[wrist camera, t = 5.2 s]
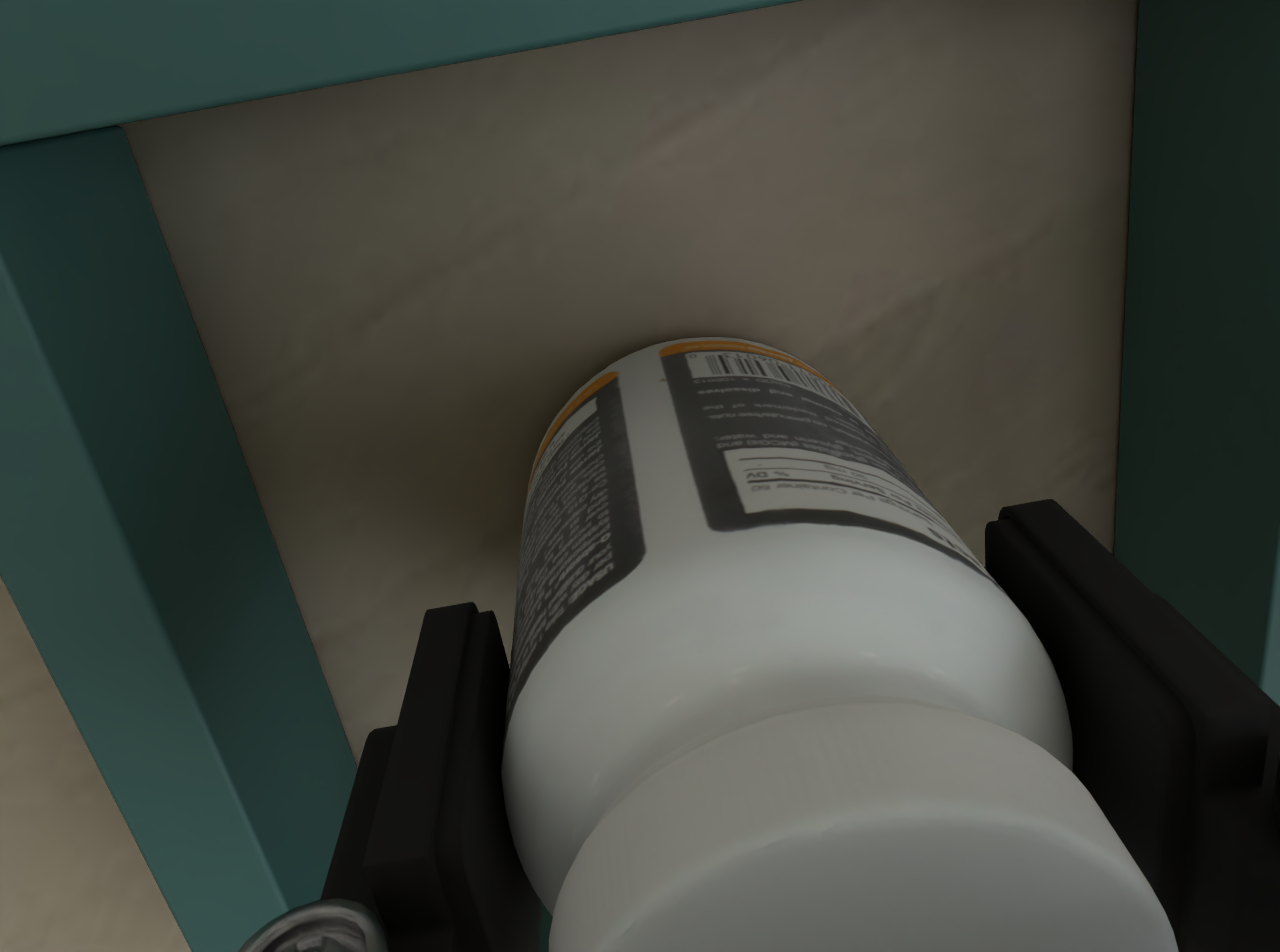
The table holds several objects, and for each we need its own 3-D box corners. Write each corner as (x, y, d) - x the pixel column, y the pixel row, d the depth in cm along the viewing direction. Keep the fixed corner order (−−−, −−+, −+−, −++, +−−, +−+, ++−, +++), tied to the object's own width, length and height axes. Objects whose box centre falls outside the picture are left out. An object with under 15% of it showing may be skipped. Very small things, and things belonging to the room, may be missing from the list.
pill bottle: (645, 688, 18) (726, 1372, 9) (456, 444, 15) (297, 1014, 6) (927, 533, 17) (1349, 1116, 8) (767, 249, 15) (1097, 595, 5)
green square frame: (340, 943, 20) (289, 1148, 16) (-46, 14, 13) (-295, 5, 9) (1179, 795, 20) (1320, 967, 16) (1269, -225, 12) (1559, -333, 9)
